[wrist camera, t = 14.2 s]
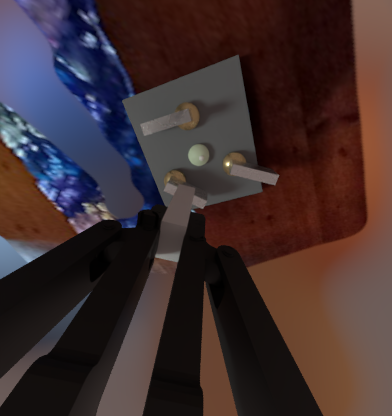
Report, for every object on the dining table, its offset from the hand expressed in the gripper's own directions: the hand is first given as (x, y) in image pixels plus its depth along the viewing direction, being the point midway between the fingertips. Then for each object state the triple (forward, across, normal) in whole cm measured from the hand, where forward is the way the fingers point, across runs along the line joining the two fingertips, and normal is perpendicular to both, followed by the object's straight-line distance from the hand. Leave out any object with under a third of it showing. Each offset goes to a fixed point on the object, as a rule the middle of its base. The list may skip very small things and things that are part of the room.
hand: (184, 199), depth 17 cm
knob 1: (+22, -6, +5) cm, 23 cm away
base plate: (+24, 0, +1) cm, 24 cm away
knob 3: (+22, +9, 0) cm, 24 cm away
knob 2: (+22, -1, -7) cm, 23 cm away
